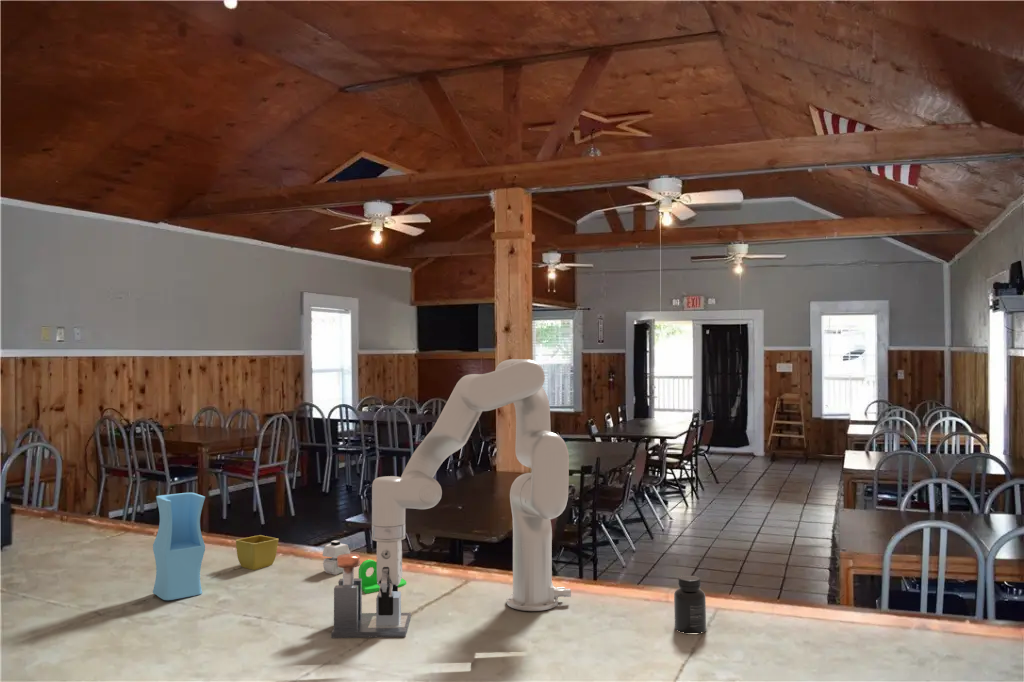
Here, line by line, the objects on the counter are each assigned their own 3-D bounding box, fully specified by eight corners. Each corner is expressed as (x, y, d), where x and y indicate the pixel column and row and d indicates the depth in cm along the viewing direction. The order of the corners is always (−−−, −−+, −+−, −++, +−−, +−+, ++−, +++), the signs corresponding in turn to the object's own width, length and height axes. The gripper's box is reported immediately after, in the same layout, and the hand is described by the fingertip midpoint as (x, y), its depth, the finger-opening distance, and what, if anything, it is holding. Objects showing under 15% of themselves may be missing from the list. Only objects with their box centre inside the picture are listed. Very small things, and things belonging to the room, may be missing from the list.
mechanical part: (365, 597, 202) (366, 565, 202) (358, 591, 207) (358, 560, 207) (409, 590, 207) (409, 560, 208) (401, 585, 213) (401, 555, 213)
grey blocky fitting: (351, 575, 221) (352, 540, 222) (334, 581, 216) (335, 544, 216) (336, 572, 224) (336, 537, 225) (319, 578, 219) (319, 541, 219)
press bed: (410, 617, 185) (410, 574, 185) (405, 636, 172) (405, 590, 172) (341, 618, 184) (342, 575, 184) (331, 638, 171) (331, 591, 171)
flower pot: (260, 565, 233) (260, 534, 233) (279, 569, 228) (279, 538, 228) (234, 571, 226) (234, 539, 226) (253, 576, 221) (253, 543, 221)
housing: (400, 617, 181) (401, 589, 181) (398, 624, 176) (398, 595, 176) (378, 618, 180) (379, 589, 181) (376, 625, 175) (376, 595, 176)
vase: (164, 601, 198) (166, 500, 198) (152, 592, 205) (153, 496, 206) (204, 593, 204) (205, 496, 205) (191, 585, 211) (192, 492, 212)
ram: (360, 606, 180) (361, 553, 181) (357, 613, 175) (357, 558, 176) (338, 606, 180) (339, 553, 180) (334, 613, 175) (335, 559, 175)
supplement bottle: (707, 629, 177) (707, 575, 177) (704, 639, 170) (704, 583, 171) (676, 626, 179) (676, 572, 179) (672, 635, 173) (672, 580, 173)
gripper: (401, 540, 170) (401, 620, 170) (408, 524, 187) (408, 596, 187) (366, 540, 170) (366, 620, 169) (376, 524, 187) (376, 597, 187)
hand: (388, 608), depth 178 cm, fingers open, 9 cm apart
